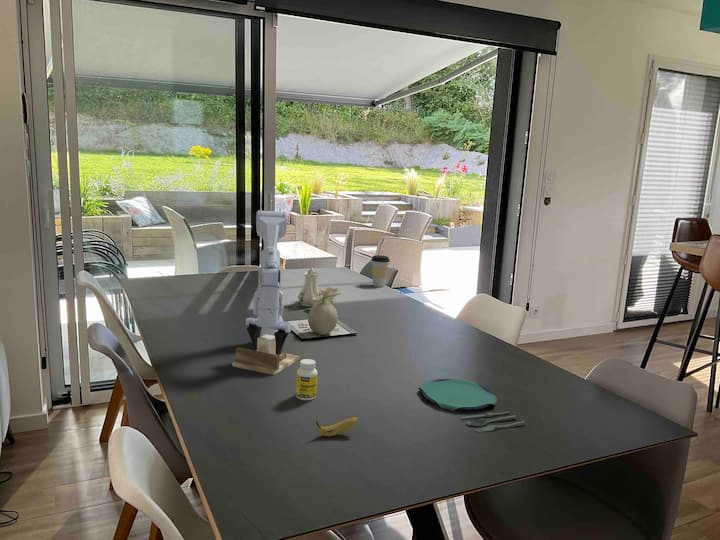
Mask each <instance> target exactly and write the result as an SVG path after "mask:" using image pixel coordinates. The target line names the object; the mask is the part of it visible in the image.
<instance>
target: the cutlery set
mask: <svg viewBox="0 0 720 540" xmlns="http://www.w3.org/2000/svg"><path fill="white" fill-rule="evenodd" d="M418 390H419V391H420V390H421V394H422V396H423V397H424V398H425V399H426V400H428V401H429V402H431V403H433V404H435V405H438V406H439V407H440V408H441V409H444V410H447V411H452V412H454V411H456V410H462V411H477V410H481V409H485V408H488V407H490V406H491V405H493V407H495V406H496V404H497V401H498V400H497V399H498V398H497V396H495V394H494V393H492V392H491V391H490V390H489V389H488V388H486V387H485V386H483V385H481V384H478V383H477V382H475V381H472V380H465V379H462V378H456V377H455V378H439V379H433V380H426V381H424V382H423V383H421V385H420V386H419V387H418ZM510 413H511V412H510V411H509V410H507V411H504V412H496V413H493V412H488V413H486V412H485V413H484V414H477V415H476V414H475V415H468V416H462V417H461V418H460V420H461V421H464V420H468V421H466V424H467V425H468V426H470V427H476V428H473V431H474V432H475V433H477V434H478V433H486V432H494V431H496V430H497V429H508V428H509V429H510V428H514V427H515V428H516V427H519V426H526V421H525V420H522V421H516V422H512V423H508V424H503V425H501V424H500V425H496V424H493V425H492V424H489V423H495V422H499V421H507V420H517V419H518V416H517V415H516V414H513V415H510ZM503 414H504V415H505V414H507V415H508V416H503V417H498V418H494V419H490V420H486V419H480V418H485V417H486V418H489V417H493V416H496V415H497V416H499V415H503ZM475 422H476V423H478V422H479V423H483V424H481V425H479V424H478V425H473V424H472V423H475ZM487 424H489V425H488V426H486V425H487ZM477 427H479V428H477Z"/></svg>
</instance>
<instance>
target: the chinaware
mask: <svg viewBox="0 0 720 540" xmlns="http://www.w3.org/2000/svg"><path fill="white" fill-rule="evenodd" d="M319 276H320V273H318V272H316V271H315V269H314V268H313V267H311V268H310V270H307V272H304V282H303V283H304V285H303V287H302V289H301V291H299V292H300V293H299V294H298V295H297V299H298V301H299V302H300V306H303V307H307V308H309V307H310V308H312V307H313V306H314V305H315V304H317V303H318V302H319V301H320V299H321V298H323V297H326V296H329V295H334V294H338V292H339V288H333V287H331V286H330V287H329V286H327V287H319V282H318V281H319ZM335 298H337V295H335V296H331V297H328V298H326V299H325V300H324V302H327V303H330V304H331V303H332V302H333V301H334V299H335ZM320 302H322V300H321V301H320Z"/></svg>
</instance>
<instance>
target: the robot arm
mask: <svg viewBox="0 0 720 540" xmlns="http://www.w3.org/2000/svg"><path fill="white" fill-rule="evenodd" d="M255 220H256V221H255V224H256V226H255V228H256V233H257V236H259V237H260V238H262V240H263V244H264V249H262V251H261V252H260V253H261V254H260V269H259V270H258V287H259V288H258V289H257V290H256V291H255V293H254V297H253V311H252V312H253V313H252V314H253V315H254V316H255V317H247V318H245V326H248V327H246V331H247V333H248V336H249V337H250V340H251V341H250V342H251V344H252V348H253V350H254V351H257V338H259V337H261V336H264V335H266V334H267V335H273V336H275V341H276V350H275V352H276V354H277V355H278V354H280V353H281V352H282V350H283V347H284V344H285V341H286V339H287V338H288V335H289V334H290V333H291V331H292V325H291V324H288V323H285V322H284V318H283V316H284V305H285V301H284V293H283V292H282V291H281V290H280V287H281V284H282V269H281V252H280V250H279V249H278V243H279V241H280V239H281V238H284V237H285V236H286V234H287V226H288V224H287V223H288V213H287V211H273V210H260V209H258V210H257V211H256V219H255Z"/></svg>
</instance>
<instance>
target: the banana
mask: <svg viewBox="0 0 720 540" xmlns="http://www.w3.org/2000/svg"><path fill="white" fill-rule="evenodd" d="M358 421H359V418H358V417H356V416H355V417H354V416H353V417H349V418H346V419H343V420H342V421H340V422H337V423H336V424H332V425H327V426H323V425H320V424H319V420H316V422H315V424H316V426H317V427H318V431H319V434H321V436H324V437H334V436H338V435H340V434H342V433H344V432H346V431H348V430H350V429H351V428H353V427H354V426H355V425H356V424H357V423H358Z"/></svg>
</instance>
